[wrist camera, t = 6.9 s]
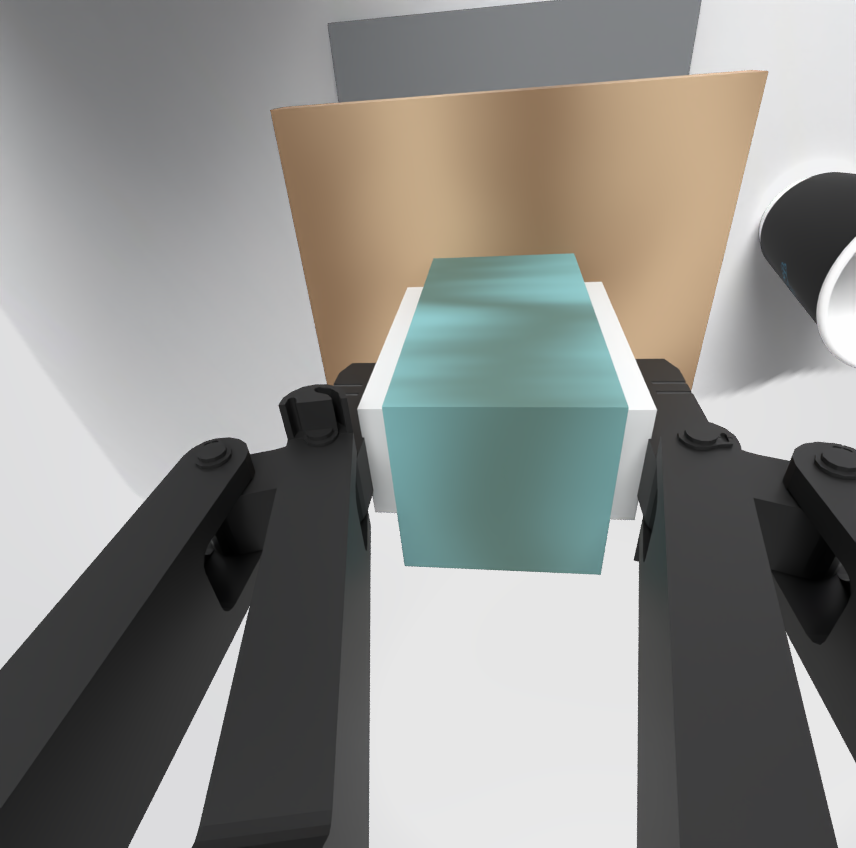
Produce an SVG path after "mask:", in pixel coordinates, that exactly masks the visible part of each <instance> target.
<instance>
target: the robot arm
mask: <svg viewBox="0 0 856 848" xmlns="http://www.w3.org/2000/svg"><path fill="white" fill-rule="evenodd" d="M584 283H585V286H586V288H587V291H588V294H589V297H590V300H591V302H592V305H593V308H594V311H595V314H596V317H597V319H598V322H599V325H600V328H601V331H602V333H603V336H604V339H605V342H606V345H607V348H608V350H609V353H610V356H611V359H612V362H613V364H614V367H615V370H616V373H617V376H618V378H619V381H620V384H621V387H622V390H623V393H624V395H625V398H626V401H627V404H628V407H629V409H628V415H627V421H626V427H625V433H624V439H623V445H622V451H621V457H620V463H619V468H618V474H617V480H616V486H615V492H614V498H613V504H612V510H611V516H610V519H618V520H619V519H620V520H622V519H623V520H635V515H636V510H637V505H638V500H639V503H640V507H641V510H642V513H643V520H642V525H641V529H640V534H639V538H638V544H637V548H636V553H635V557H634V560H635V561H639V651H638V652H639V653H638V655H639V656H638V786H637V787H638V788H637V790H638V791H637V794H638V795H637V801H638V802H637V848H838V846H837V842H836V838H835V834H834V829H833V825H832V821H831V817H830V813H829V809H828V805H827V800H826V796H825V792H824V789H823V784H822V780H821V776H820V771H819V768H818V764H817V759H816V755H815V751H814V747H813V743H812V738H811V734H810V731H809V727H808V722H807V718H806V714H805V710H804V706H803V701H802V697H801V693H800V689H799V685H798V681H797V677H796V673H795V668H794V664H793V660H792V656H791V652H790V648H789V644H788V640H787V635H788V636H789V638H790V640H791V642H792V644H793V646H794V648H795V649H796V651H797V653H798V655H799V657H800V659H801V661H802V663H803V665H804V666H805V668H806V670H807V672H808V674H809V676H810V678H811V680H812V681H813V683H814V685H815V687H816V689H817V691H818V692H819V695H820V696H821V698H822V700H823V702H824V704H825V706H826V708H827V710H828V711H829V713H830V715H831V717H832V719H833V721H834V722H835V725H836V726H837V728H838V730H839V732H840V734H841V736H842V738H843V739H844V741H845V743H846V745H847V747H848V749H849V751H850V753H851V754H852V756H853V758H854V760H855V762H856V450H855V449H854V448H851V447H847V446H842V445H840V444H835V443H824V442H814V443H806V444H803V445H801V446H799V447H797V448H796V449H795V450H794V453H793V455H792V458H791V460H790V461H787V460H782V459H777V458H771V457H767V456H762V455H757V454H753V453H749V452H746V451H743V450H741V446H740V443H739V441H738V440H737V438H736V436H734V435H733V434H732V433H731V432H729V431H728V430H727V429H725V428H723V427H721V426H718V425H716V424H713V423H710V422H708V420H707V418H706V416H705V415H704V413H703V411H702V409H701V408H700V406H699V404H698V402H697V400H696V399H695V397H694V395H693V394H691V390H690V388H689V386H688V384H686V381H685V379H684V377H683V375H682V373H681V372H680V370H679V369H678V368H677V367H675V366H674V365H672V364H671V363H670V362H668V361H667V360H665V359H635V358H634V355H633V353H632V351H631V348H630V346H629V344H628V341H627V339H626V337H625V335H624V332H623V330H622V328H621V325H620V323H619V321H618V318H617V316H616V314H615V311H614V309H613V307H612V304H611V302H610V300H609V297H608V295H607V293H606V290H605V288H604V286H603V283H602V282H584ZM422 289H423V287H407V290H406V292H405V295H404V297H403V299H402V302H401V304H400V307H399V309H398V312H397V314H396V316H395V319H394V321H393V324H392V326H391V329H390V331H389V333H388V336H387V338H386V341H385V343H384V345H383V348H382V350H381V353H380V355H379V358H378V360H377V362H376V363H352V364H350V365H349V366H348V367H346V368H345V369H344V370H342V371H341V372H340V373H339V374H338V376H337V378H336V380H335V382H334V384H333V385H334V386H332V385H328V384H327V385H311V386H306V387H302V388H300V389H297V390H295V391H292V392H291V393H289V394H288V395H287V396H285V397H284V398H283V399H282V400H281V402H280V404H279V409H280V412H281V416H282V420H283V423H284V427H285V431H286V434H287V438H288V442H287V446H286V447H283V448H279V449H275V450H271V451H266V452H261V453H255V454H250V453H249V450H248V447H247V444H246V443H244V442H243V441H241V440H240V439H235V438H230V437H229V438H217V439H212V440H209V441H206V442H203V443H202V444H200V445H198V446H196V447H194V448H192V449H191V450H190V451H189V452H187V453H186V454H185V455H184V456H183V457H182V458H181V459H180V461H179V462H178V463H177V464H176V465H175V466H174V468H173V469H172V470H171V471H170V472H169V473H168V475H167V476H166V477H165V478H164V479H163V480H162V482H161V483H160V484H159V485H158V486H157V487H156V489H155V490H154V491H153V492H152V493H151V494H150V496H149V497H148V498H147V499H146V500H145V501H144V503H143V504H142V505H141V506H140V507H139V508H138V510H137V511H136V512H135V513H134V514H133V515H132V517H131V518H130V519H129V520H128V521H127V522H126V524H125V525H124V526H123V527H122V528H121V530H120V531H119V532H118V533H117V534H116V535H115V537H114V538H113V539H112V540H111V541H110V542H109V543H108V545H107V546H106V547H105V548H104V549H103V551H102V552H101V553H100V554H99V555H98V556H97V558H96V559H95V560H94V561H93V562H92V563H91V565H90V566H89V567H88V568H87V569H86V570H85V572H84V573H83V574H82V575H81V576H80V577H79V579H78V580H77V581H76V582H75V583H74V584H73V586H72V587H71V588H70V589H69V590H68V592H67V593H66V594H65V595H64V596H63V597H62V599H61V600H60V601H59V602H58V603H57V604H56V605H55V607H54V608H53V609H52V610H51V611H50V613H49V614H48V615H47V616H46V617H45V618H44V619H43V621H42V622H41V623H40V624H39V625H38V627H37V628H36V629H35V630H34V631H33V632H32V633H31V635H30V636H29V637H28V638H27V639H26V641H25V642H24V643H23V644H22V645H21V646H20V648H19V649H18V650H17V651H16V652H15V654H14V655H13V656H12V657H11V658H10V659H9V660H8V662H7V663H6V664H5V665H4V666H3V667H2V669H1V670H0V848H128V846H129V844H130V842H131V840H132V838H133V836H134V834H135V832H136V830H137V828H138V826H139V824H140V822H141V820H142V819H143V817H144V814H145V813H146V811H147V809H148V807H149V805H150V802H151V801H152V798H153V797H154V795H155V792H156V791H157V789H158V787H159V785H160V783H161V781H162V779H163V777H164V775H165V773H166V771H167V769H168V767H169V765H170V763H171V761H172V759H173V757H174V755H175V753H176V751H177V749H178V747H179V745H180V743H181V741H182V739H183V737H184V735H185V733H186V731H187V729H188V727H189V725H190V723H191V721H192V719H193V717H194V715H195V713H196V711H197V709H198V707H199V705H200V703H201V701H202V699H203V697H204V696H205V694H206V691H207V689H208V688H209V685H210V684H211V682H212V680H213V678H214V676H215V674H216V672H217V670H218V668H219V665H220V664H221V662H222V660H223V658H224V656H225V654H226V652H227V650H228V648H229V646H230V644H231V642H232V640H233V638H234V636H235V634H236V632H237V630H238V628H239V626H240V624H241V622H242V620H243V618H244V616H245V614H246V612H247V610H248V608H249V606H250V608H249V612H248V616H247V621H246V625H245V630H244V634H243V638H242V642H241V647H240V652H239V656H238V660H237V664H236V669H235V673H234V677H233V682H232V686H231V690H230V695H229V699H228V704H227V708H226V712H225V717H224V721H223V725H222V730H221V735H220V739H219V743H218V747H217V752H216V756H215V761H214V765H213V769H212V774H211V778H210V782H209V786H208V791H207V795H206V800H205V804H204V808H203V813H202V817H201V822H200V826H199V829H198V833H197V836H196V839H195V842H194V844H193V846H192V848H369V723H370V722H369V721H370V718H369V715H370V555H371V553H370V552H371V550H370V549H371V545H370V543H371V525H370V519H369V514H368V507H369V504H370V501H371V498H372V496H373V502H374V507H375V512H387V513H390V512H391V513H397V509H396V502H395V495H394V488H393V481H392V474H391V467H390V460H389V453H388V446H387V439H386V432H385V425H384V419H383V412H382V405H383V402H384V399H385V396H386V393H387V390H388V388H389V385H390V382H391V379H392V376H393V373H394V370H395V367H396V364H397V362H398V359H399V356H400V353H401V350H402V347H403V344H404V341H405V339H406V336H407V333H408V330H409V327H410V324H411V321H412V318H413V315H414V313H415V310H416V307H417V304H418V301H419V298H420V295H421V292H422ZM786 633H787V635H786Z"/></svg>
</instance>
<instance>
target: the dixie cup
mask: <svg viewBox="0 0 856 848" xmlns="http://www.w3.org/2000/svg"><path fill="white" fill-rule="evenodd" d="M759 238H760V243H761V249H762V252H763V255H764V257H765V258H766V260H767V261H768V263H769V264H770V265H771V266H772V268H773V269H774V270H775V271H776V273H777V274H778V275H779V277H780V278H781V279H782V280H783V282H784V283H785V284H786V285H787V287H788V288H789V289H790V291H791V292H792V293H793V294H794V296H795V297H796V298H797V300H798V301H799V302H800V303H801V305H802V306H803V307H804V308H805V310H806V311H807V312H808V314H809V315H810V316H811V317H812V319H813V320H814V321H815V322H816V324H817V326H818V330H819V333H820V336H821V338H822V341H823V343H824V344H825V346H826V347H827V349H828V350H829V351H830V352H831V353H832V354H833V355H834V356H835V357H836V358H838V359H839V360H841V361H842V362H844V363H846V364H848V365H850V366H852V367H855V368H856V174H850V173H840V172H830V173H823V174H819V175H815V176H811V177H807V178H804V179H801V180H799V181H797V182H795V183H793V184H791V185H790V186H788V187H787V188H785V189H784V190H783V191H781V192H780V193H779V194H778V195H777V196H776V197H775V198H774V199H773V200H772V202H771V203H770V204H769V206H768V207H767V209H766V210H765V212H764V214H763V217H762V219H761V223H760V228H759Z"/></svg>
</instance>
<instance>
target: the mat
mask: <svg viewBox="0 0 856 848" xmlns="http://www.w3.org/2000/svg"><path fill="white" fill-rule="evenodd" d="M700 6H701V0H554V1H544V2H534V3H524V4H514V5H504V6H494V7H484V8H474V9H464V10H454V11H444V12H434V13H425V14H415V15H405V16H395V17H385V18H375V19H365V20H355V21H345V22H335V23H328V30H329V37H330V44H331V51H332V58H333V65H334V72H335V79H336V86H337V93H338V101H339V103H342V102H354V101H367V100H380V99H392V98H405V97H418V96H430V95H443V94H456V93H468V92H481V91H494V90H506V89H519V88H532V87H544V86H557V85H569V84H582V83H595V82H607V81H620V80H633V79H645V78H658V77H671V76H683V75H689V71H690V65H691V59H692V53H693V47H694V41H695V35H696V29H697V24H698V18H699V12H700Z"/></svg>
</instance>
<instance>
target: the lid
mask: <svg viewBox="0 0 856 848" xmlns="http://www.w3.org/2000/svg"><path fill="white" fill-rule="evenodd" d="M767 75H768V71H758V70H747V71H734V72H721V73H709V74H696V75H683V76H671V77H658V78H645V79H633V80H620V81H607V82H595V83H582V84H569V85H557V86H544V87H532V88H519V89H506V90H494V91H481V92H468V93H456V94H443V95H430V96H418V97H405V98H392V99H380V100H367V101H354V102H342V103H329V104H316V105H304V106H291V107H282V108H277V109H273V110H270V111H271V116H272V121H273V126H274V131H275V135H276V140H277V145H278V150H279V155H280V159H281V164H282V169H283V174H284V179H285V184H286V188H287V193H288V198H289V203H290V208H291V212H292V217H293V222H294V227H295V232H296V237H297V241H298V246H299V251H300V256H301V261H302V265H303V270H304V275H305V280H306V285H307V289H308V294H309V299H310V304H311V309H312V314H313V318H314V323H315V328H316V333H317V338H318V342H319V347H320V352H321V357H322V362H323V367H324V371H325V376H326V381H327V384H328V385H332V386H334V385H333V384H334V382H335V380H336V378H337V376H338V374H339V373H340V372H341V371H342V370H344V369H345V368H346V367H348V366H349V365H350V364H352V363H376V362H377V360H378V358H379V355H380V353H381V350H382V348H383V345H384V343H385V341H386V338H387V336H388V333H389V331H390V329H391V326H392V324H393V321H394V319H395V316H396V314H397V312H398V309H399V307H400V304H401V302H402V299H403V297H404V295H405V292H406V290H407V287H423V289H422V292H421V295H420V298H419V301H418V304H417V307H416V310H415V313H414V315H413V318H412V321H411V324H410V327H409V330H408V333H407V336H406V339H405V341H404V344H403V347H402V350H401V353H400V356H399V359H398V362H397V364H396V367H395V370H394V373H393V376H392V379H391V382H390V385H389V388H388V390H387V393H386V396H385V399H384V402H383V405H382V412H383V419H384V425H385V432H386V439H387V446H388V453H389V460H390V467H391V474H392V481H393V488H394V495H395V502H396V509H397V515H398V522H399V529H400V536H401V543H402V550H403V557H404V564H405V566H417V567H418V566H419V567H439V568H462V569H463V568H465V569H486V570H510V571H530V572H552V573H576V574H577V573H578V574H598V575H600V574H601V569H602V563H603V557H604V552H605V545H606V540H607V533H608V528H609V522H610V516H611V510H612V504H613V498H614V492H615V486H616V480H617V474H618V468H619V463H620V457H621V451H622V445H623V439H624V433H625V427H626V421H627V415H628V409H629V407H628V404H627V401H626V398H625V395H624V393H623V390H622V387H621V384H620V381H619V378H618V376H617V373H616V370H615V367H614V364H613V362H612V359H611V356H610V353H609V350H608V348H607V345H606V342H605V339H604V336H603V333H602V331H601V328H600V325H599V322H598V319H597V317H596V314H595V311H594V308H593V305H592V302H591V300H590V297H589V294H588V291H587V288H586V286H585V283H584V282H602V283H603V286H604V288H605V290H606V293H607V295H608V297H609V300H610V302H611V304H612V307H613V309H614V311H615V314H616V316H617V318H618V321H619V323H620V325H621V328H622V330H623V332H624V335H625V337H626V339H627V341H628V344H629V346H630V348H631V351H632V353H633V355H634V358H635V359H665V360H667V361H668V362H670V363H671V364H672V365H674V366H675V367H677V368H678V369H679V370H680V372H681V373H682V375H683V377H684V379H685V381H686V384H688V386H689V388H690V390H691V389H692V385H693V381H694V377H695V372H696V368H697V364H698V360H699V356H700V352H701V348H702V343H703V339H704V335H705V331H706V327H707V323H708V319H709V315H710V310H711V306H712V302H713V298H714V294H715V290H716V286H717V282H718V277H719V273H720V269H721V265H722V261H723V257H724V253H725V249H726V244H727V240H728V236H729V232H730V228H731V224H732V220H733V216H734V211H735V207H736V203H737V199H738V195H739V191H740V187H741V183H742V178H743V174H744V170H745V166H746V162H747V158H748V154H749V150H750V145H751V141H752V137H753V133H754V129H755V125H756V121H757V117H758V112H759V108H760V104H761V100H762V96H763V92H764V88H765V84H766V79H767Z"/></svg>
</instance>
